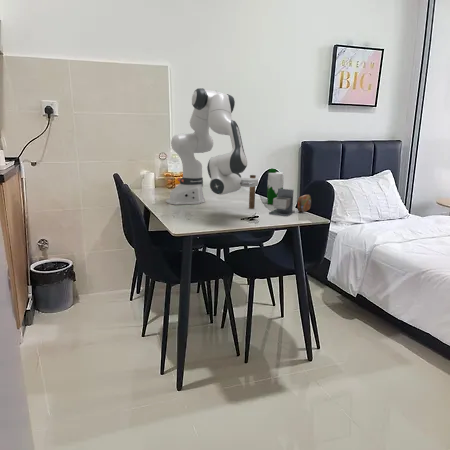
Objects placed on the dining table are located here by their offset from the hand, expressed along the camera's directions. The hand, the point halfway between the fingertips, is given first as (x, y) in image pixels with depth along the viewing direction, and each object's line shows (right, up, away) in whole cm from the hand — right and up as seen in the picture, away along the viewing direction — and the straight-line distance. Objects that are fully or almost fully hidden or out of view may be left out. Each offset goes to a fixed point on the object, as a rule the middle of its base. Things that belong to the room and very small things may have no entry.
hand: (243, 180), depth 207 cm
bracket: (+20, -17, +3) cm, 26 cm away
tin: (+33, -15, +11) cm, 38 cm away
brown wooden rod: (+5, -14, +15) cm, 21 cm away
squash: (-5, +4, +90) cm, 90 cm away
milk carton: (+19, -10, +31) cm, 38 cm away
